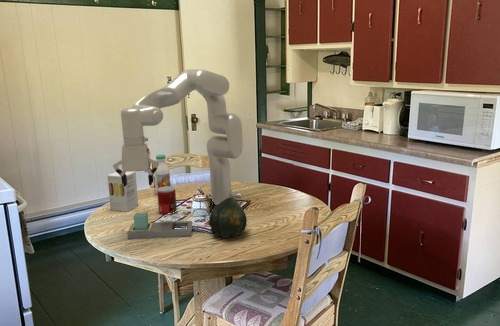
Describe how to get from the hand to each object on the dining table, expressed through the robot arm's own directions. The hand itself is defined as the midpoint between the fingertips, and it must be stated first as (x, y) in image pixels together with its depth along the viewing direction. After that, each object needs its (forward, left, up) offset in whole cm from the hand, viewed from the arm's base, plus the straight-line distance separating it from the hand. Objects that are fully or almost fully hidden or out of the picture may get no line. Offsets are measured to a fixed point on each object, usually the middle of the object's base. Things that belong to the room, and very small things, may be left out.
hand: (138, 184), depth 166 cm
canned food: (-7, -24, -20) cm, 32 cm away
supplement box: (+14, -32, -20) cm, 40 cm away
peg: (0, 0, -20) cm, 20 cm away
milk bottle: (-1, -53, -20) cm, 57 cm away
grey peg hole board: (-7, 0, -20) cm, 21 cm away
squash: (-34, +4, -20) cm, 40 cm away
